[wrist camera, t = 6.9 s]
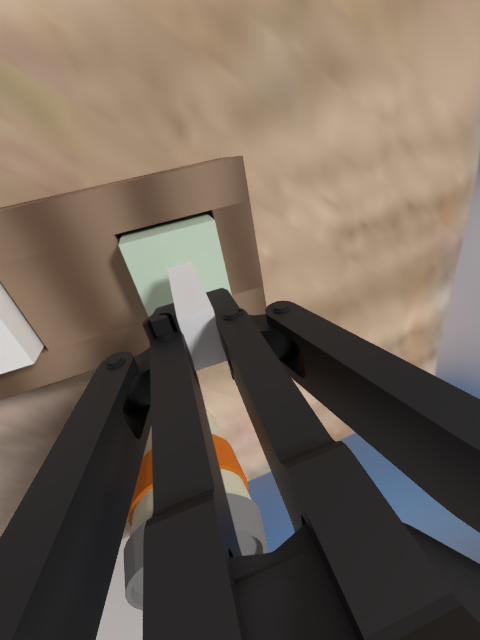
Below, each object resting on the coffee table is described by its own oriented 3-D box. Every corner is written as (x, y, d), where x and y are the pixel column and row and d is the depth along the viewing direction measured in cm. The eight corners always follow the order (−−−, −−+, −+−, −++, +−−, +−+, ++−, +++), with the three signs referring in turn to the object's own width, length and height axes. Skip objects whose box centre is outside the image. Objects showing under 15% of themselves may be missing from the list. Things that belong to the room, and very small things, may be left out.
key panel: (-24, 370, 25) (-65, 420, 20) (-141, 239, 19) (-243, 266, 14) (246, 288, 29) (267, 313, 24) (221, 157, 23) (242, 155, 18)
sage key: (151, 299, 24) (153, 327, 20) (123, 228, 21) (118, 244, 17) (218, 279, 25) (233, 302, 21) (201, 209, 22) (214, 219, 18)
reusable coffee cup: (109, 423, 33) (87, 587, 20) (210, 378, 34) (248, 506, 21) (158, 477, 39) (164, 625, 27) (240, 438, 40) (283, 562, 28)
